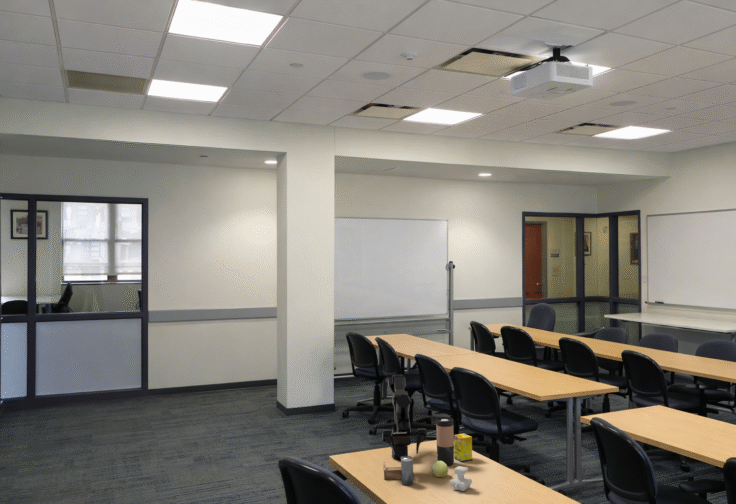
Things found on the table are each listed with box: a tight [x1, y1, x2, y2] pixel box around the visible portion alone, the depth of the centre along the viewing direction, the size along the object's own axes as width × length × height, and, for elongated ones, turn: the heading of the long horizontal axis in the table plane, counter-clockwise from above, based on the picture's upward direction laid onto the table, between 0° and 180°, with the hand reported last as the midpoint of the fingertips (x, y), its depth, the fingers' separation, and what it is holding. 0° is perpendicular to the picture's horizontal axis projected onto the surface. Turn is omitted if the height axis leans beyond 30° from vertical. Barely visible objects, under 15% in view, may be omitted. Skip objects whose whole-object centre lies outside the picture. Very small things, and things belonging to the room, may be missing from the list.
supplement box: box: [454, 433, 473, 463], centre depth 270 cm, size 6×6×11 cm
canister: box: [400, 455, 414, 487], centre depth 242 cm, size 5×5×10 cm
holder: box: [382, 461, 402, 481], centre depth 253 cm, size 11×11×4 cm
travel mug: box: [435, 416, 455, 468], centre depth 264 cm, size 8×8×20 cm
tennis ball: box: [431, 460, 449, 478], centre depth 250 cm, size 6×7×7 cm
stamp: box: [449, 465, 473, 492], centre depth 235 cm, size 9×7×8 cm
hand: (406, 453), depth 245 cm, fingers open, 9 cm apart
